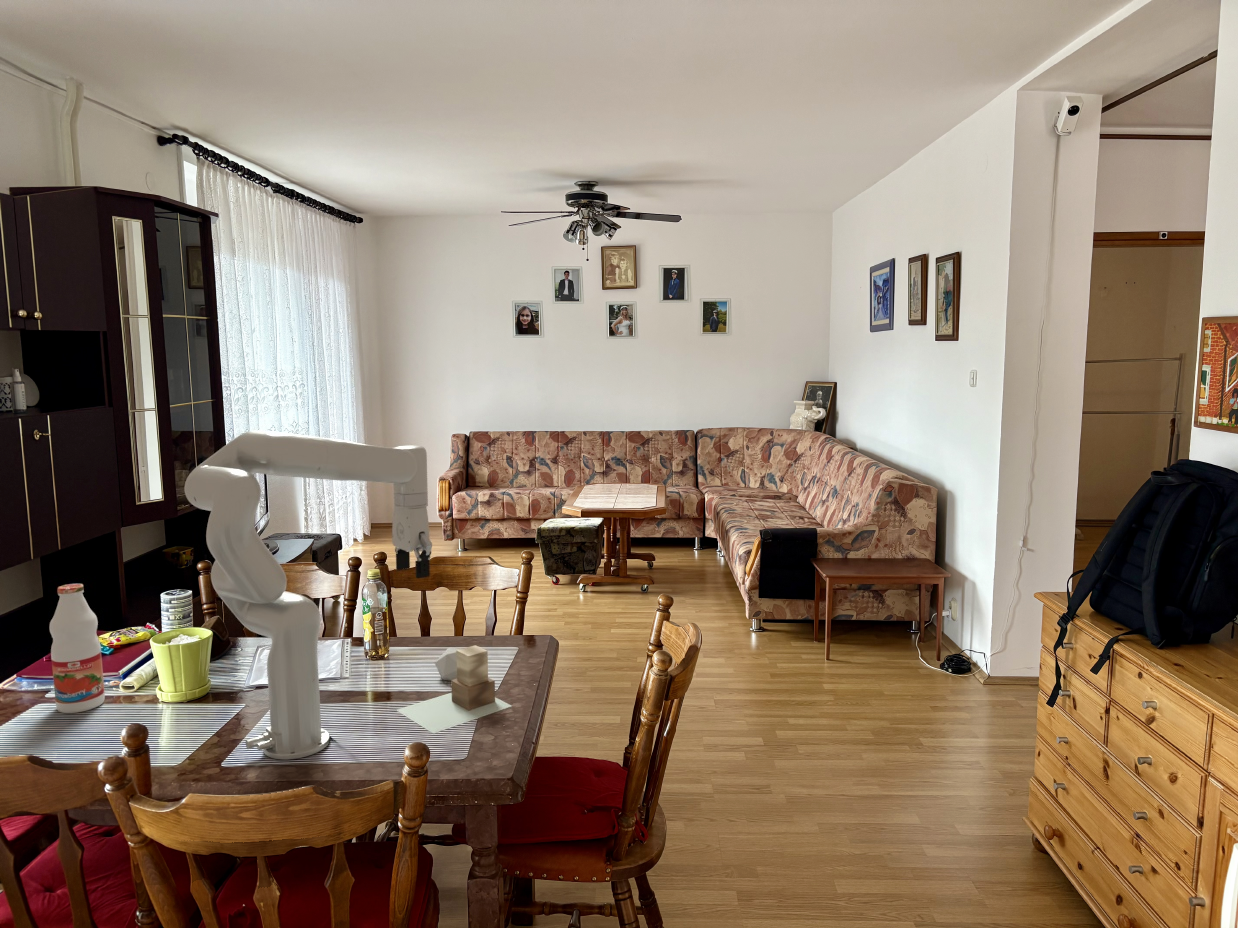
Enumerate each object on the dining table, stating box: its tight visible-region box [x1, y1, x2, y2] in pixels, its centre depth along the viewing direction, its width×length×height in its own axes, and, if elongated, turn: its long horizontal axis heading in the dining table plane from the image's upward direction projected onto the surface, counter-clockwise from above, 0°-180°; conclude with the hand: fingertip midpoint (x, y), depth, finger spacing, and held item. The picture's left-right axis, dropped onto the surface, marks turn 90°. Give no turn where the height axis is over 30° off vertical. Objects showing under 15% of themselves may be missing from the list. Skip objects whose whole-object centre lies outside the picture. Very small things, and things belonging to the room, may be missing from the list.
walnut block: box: [450, 677, 496, 711], centre depth 187 cm, size 7×7×5 cm
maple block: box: [456, 644, 489, 686], centre depth 186 cm, size 5×5×7 cm
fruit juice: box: [49, 583, 106, 714], centre depth 187 cm, size 9×9×28 cm
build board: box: [395, 692, 512, 735], centre depth 184 cm, size 20×16×1 cm
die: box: [434, 647, 461, 682], centre depth 202 cm, size 8×9×10 cm
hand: (412, 573), depth 191 cm, fingers open, 9 cm apart
